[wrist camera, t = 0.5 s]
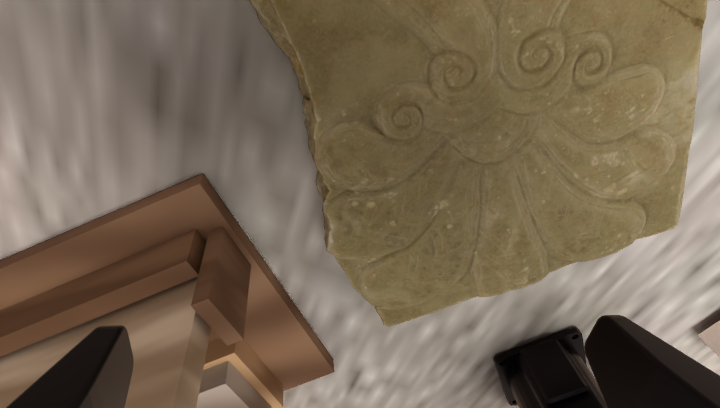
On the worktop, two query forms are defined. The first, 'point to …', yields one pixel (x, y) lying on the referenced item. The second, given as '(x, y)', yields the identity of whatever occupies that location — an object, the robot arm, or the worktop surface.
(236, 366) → the oak offcut
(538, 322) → the worktop surface
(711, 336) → the ring with crossbar
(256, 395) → the grey offcut
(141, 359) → the birch sheet
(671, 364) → the robot arm
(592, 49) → the decorative tile
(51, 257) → the walnut rack
